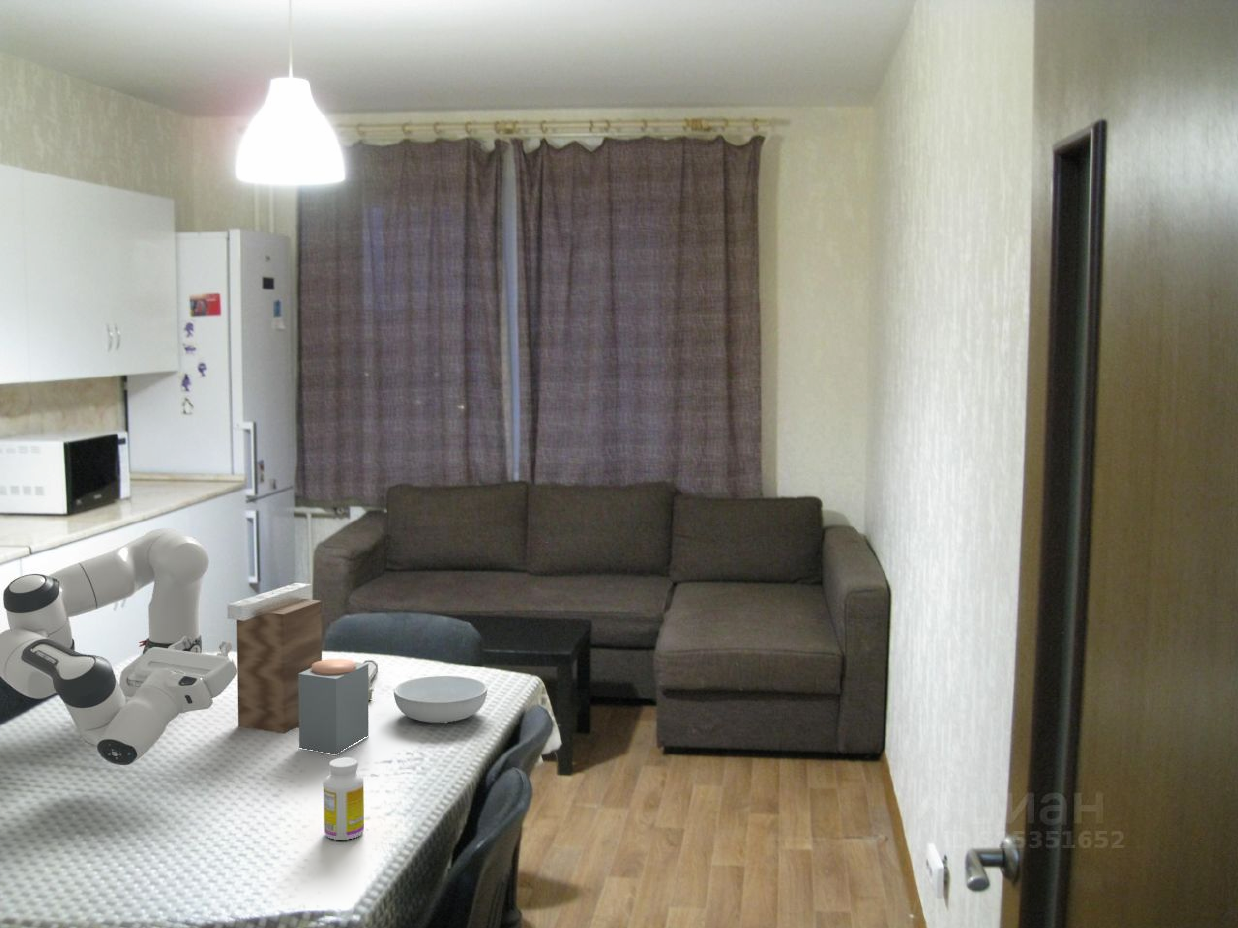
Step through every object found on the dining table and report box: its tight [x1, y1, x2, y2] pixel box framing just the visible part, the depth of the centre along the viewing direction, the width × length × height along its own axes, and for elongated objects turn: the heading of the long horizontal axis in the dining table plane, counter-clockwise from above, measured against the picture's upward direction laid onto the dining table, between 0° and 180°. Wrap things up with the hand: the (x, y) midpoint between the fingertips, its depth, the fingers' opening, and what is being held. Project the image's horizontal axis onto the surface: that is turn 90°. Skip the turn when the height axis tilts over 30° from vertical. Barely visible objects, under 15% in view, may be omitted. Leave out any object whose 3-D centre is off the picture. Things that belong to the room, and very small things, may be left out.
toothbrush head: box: [362, 659, 379, 701], centre depth 289 cm, size 5×7×25 cm
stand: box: [236, 598, 323, 734], centre depth 262 cm, size 12×14×26 cm
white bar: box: [226, 582, 313, 621], centre depth 258 cm, size 4×24×3 cm, turn 160°
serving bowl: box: [393, 675, 489, 724], centre depth 268 cm, size 21×21×7 cm
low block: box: [298, 658, 369, 755], centre depth 249 cm, size 9×12×17 cm
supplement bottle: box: [323, 757, 365, 841], centre depth 205 cm, size 7×7×13 cm
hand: (208, 641), depth 238 cm, fingers open, 8 cm apart
